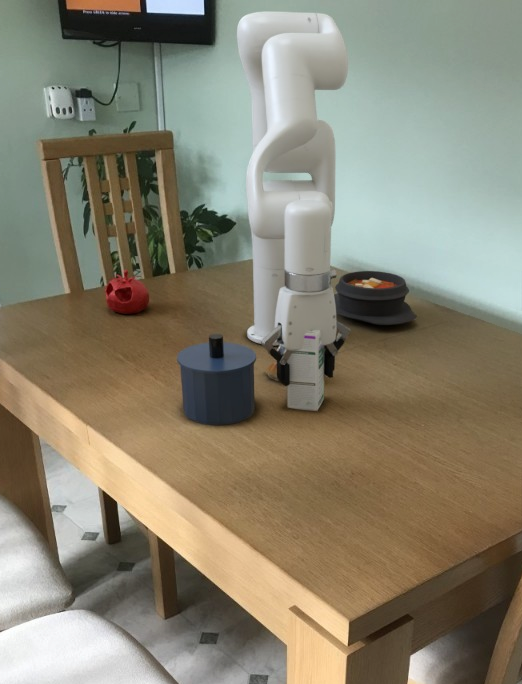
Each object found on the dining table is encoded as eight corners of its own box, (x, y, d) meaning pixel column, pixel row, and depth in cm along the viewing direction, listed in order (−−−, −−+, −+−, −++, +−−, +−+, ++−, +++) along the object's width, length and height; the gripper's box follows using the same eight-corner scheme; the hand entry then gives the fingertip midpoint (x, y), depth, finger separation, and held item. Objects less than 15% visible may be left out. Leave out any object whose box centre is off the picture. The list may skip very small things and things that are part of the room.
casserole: (435, 325, 185) (438, 288, 180) (366, 338, 176) (368, 300, 172) (373, 295, 203) (375, 261, 198) (309, 306, 195) (309, 270, 190)
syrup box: (318, 411, 144) (320, 332, 136) (285, 408, 145) (285, 329, 137) (324, 399, 149) (326, 321, 141) (293, 395, 150) (293, 318, 142)
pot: (238, 390, 151) (236, 341, 146) (265, 417, 142) (265, 365, 136) (174, 402, 146) (170, 351, 141) (198, 430, 137) (195, 377, 132)
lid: (238, 343, 147) (237, 318, 144) (269, 369, 137) (268, 343, 134) (166, 354, 141) (164, 329, 139) (193, 382, 131) (191, 355, 129)
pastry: (262, 382, 154) (261, 363, 152) (271, 369, 160) (271, 351, 158) (310, 387, 153) (310, 368, 151) (317, 374, 159) (318, 355, 157)
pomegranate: (129, 300, 195) (125, 261, 190) (159, 309, 190) (155, 269, 185) (97, 310, 188) (92, 270, 183) (127, 319, 183) (122, 278, 178)
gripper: (342, 269, 141) (338, 364, 151) (249, 280, 134) (252, 379, 144) (363, 280, 136) (358, 378, 145) (268, 292, 129) (269, 395, 138)
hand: (305, 378), depth 144 cm, fingers closed on syrup box, 8 cm apart
